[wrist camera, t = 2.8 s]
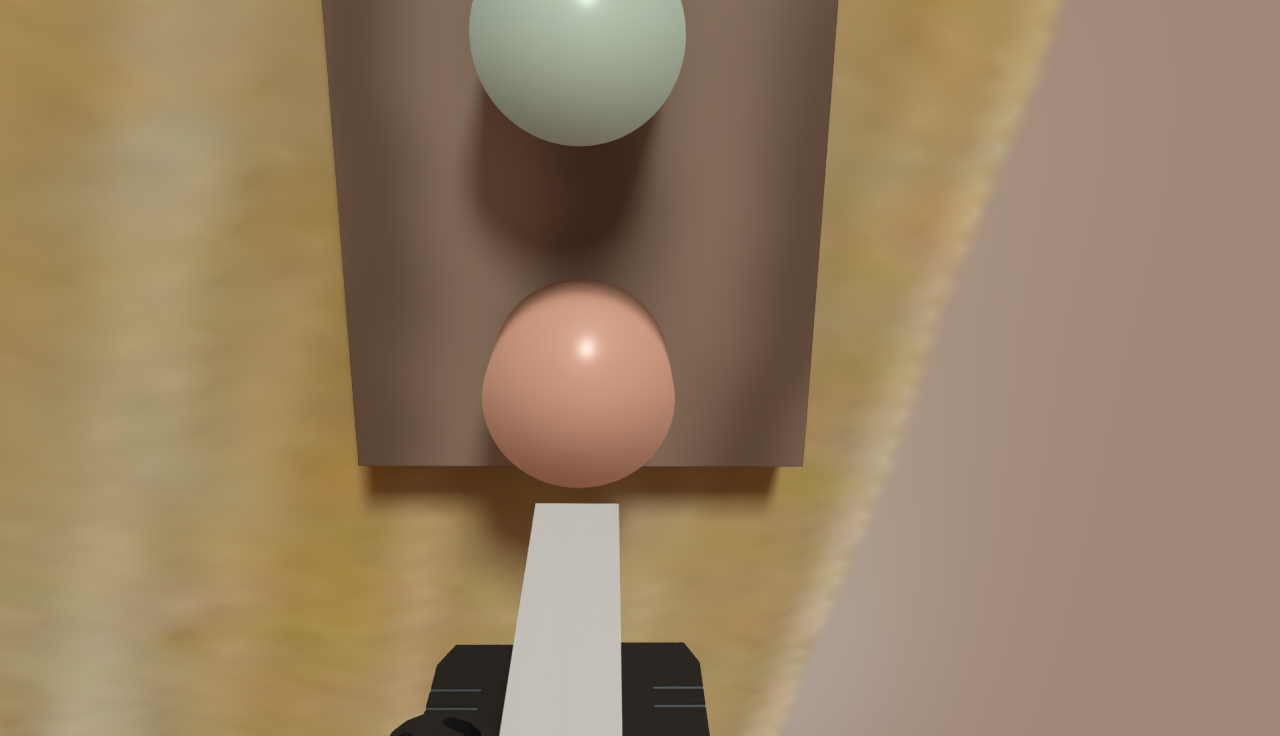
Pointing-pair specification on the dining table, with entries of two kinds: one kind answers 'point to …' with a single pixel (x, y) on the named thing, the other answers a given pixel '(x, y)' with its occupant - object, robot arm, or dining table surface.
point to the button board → (581, 225)
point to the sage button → (578, 63)
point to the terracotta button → (579, 384)
